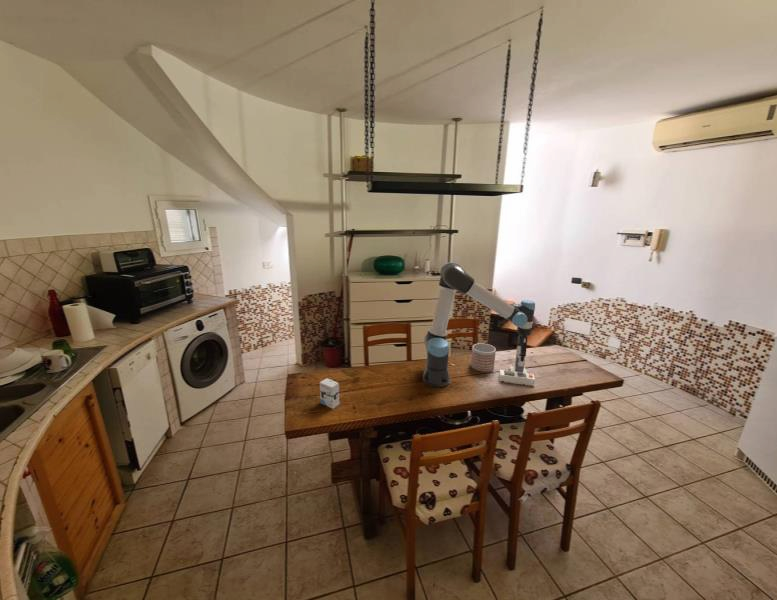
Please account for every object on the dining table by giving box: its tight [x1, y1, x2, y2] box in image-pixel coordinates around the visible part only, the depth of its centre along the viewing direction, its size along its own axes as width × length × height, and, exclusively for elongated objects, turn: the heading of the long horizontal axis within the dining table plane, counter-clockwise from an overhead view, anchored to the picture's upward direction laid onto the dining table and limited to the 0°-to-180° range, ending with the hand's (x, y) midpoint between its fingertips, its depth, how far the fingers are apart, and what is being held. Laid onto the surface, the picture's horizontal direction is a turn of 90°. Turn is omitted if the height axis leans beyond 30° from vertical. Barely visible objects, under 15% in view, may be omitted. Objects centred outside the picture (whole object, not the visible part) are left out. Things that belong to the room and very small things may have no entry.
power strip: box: [498, 369, 536, 387], centre depth 183 cm, size 18×6×5 cm, turn 75°
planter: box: [470, 342, 497, 373], centre depth 198 cm, size 14×14×13 cm
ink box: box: [319, 378, 340, 410], centre depth 157 cm, size 8×5×12 cm, turn 56°
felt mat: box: [509, 365, 528, 373], centre depth 194 cm, size 9×9×1 cm
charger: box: [514, 354, 526, 373], centre depth 193 cm, size 4×4×9 cm
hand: (519, 360), depth 193 cm, fingers open, 13 cm apart
